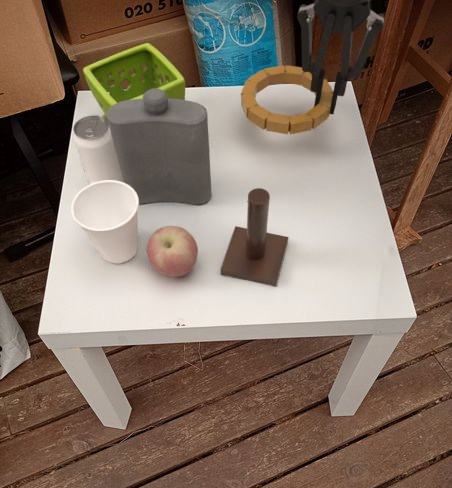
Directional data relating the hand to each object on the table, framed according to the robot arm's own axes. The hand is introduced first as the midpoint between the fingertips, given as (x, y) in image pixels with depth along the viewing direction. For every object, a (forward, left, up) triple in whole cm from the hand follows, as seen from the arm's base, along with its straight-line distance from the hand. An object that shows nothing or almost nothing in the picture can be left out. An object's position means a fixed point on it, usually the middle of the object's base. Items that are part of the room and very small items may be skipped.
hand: (324, 107), depth 90 cm
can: (+35, +21, -7) cm, 41 cm away
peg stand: (+5, +31, -7) cm, 32 cm away
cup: (+27, +35, -7) cm, 45 cm away
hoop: (+7, 0, 0) cm, 7 cm away
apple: (+17, +36, -7) cm, 40 cm away
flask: (+23, +21, -7) cm, 32 cm away
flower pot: (+33, +7, -7) cm, 35 cm away
